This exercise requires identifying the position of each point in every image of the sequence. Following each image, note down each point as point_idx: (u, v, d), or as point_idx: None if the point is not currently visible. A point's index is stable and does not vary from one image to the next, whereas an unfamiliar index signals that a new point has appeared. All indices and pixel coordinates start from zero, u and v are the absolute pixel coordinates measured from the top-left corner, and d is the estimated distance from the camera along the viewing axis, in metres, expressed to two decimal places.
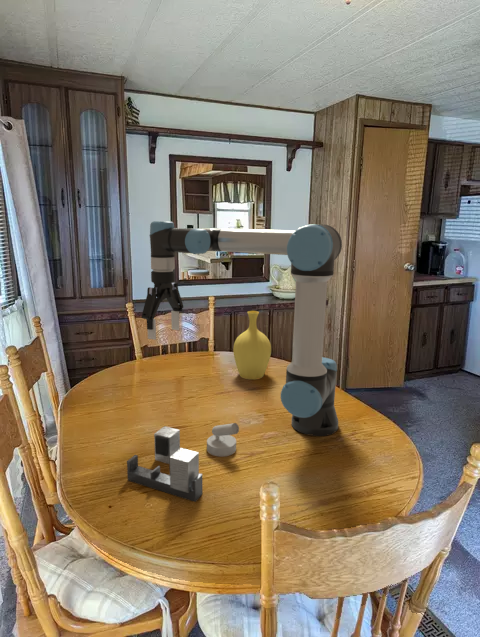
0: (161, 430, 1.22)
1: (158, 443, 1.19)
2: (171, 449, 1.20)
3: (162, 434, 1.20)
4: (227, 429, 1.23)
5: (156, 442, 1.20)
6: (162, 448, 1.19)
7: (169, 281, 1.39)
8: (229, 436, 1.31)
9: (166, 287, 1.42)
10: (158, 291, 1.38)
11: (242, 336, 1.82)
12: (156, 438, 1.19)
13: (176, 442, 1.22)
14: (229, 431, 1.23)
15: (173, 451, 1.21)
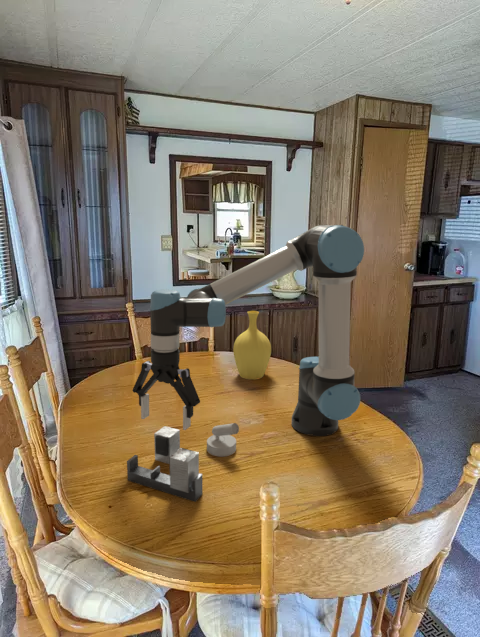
0: (161, 430, 1.22)
1: (158, 443, 1.19)
2: (171, 449, 1.20)
3: (162, 434, 1.20)
4: (227, 429, 1.23)
5: (156, 442, 1.20)
6: (162, 448, 1.19)
7: (153, 362, 1.14)
8: (229, 436, 1.31)
9: (163, 369, 1.16)
10: (151, 369, 1.18)
11: (242, 336, 1.82)
12: (156, 438, 1.19)
13: (176, 442, 1.22)
14: (229, 431, 1.23)
15: (173, 451, 1.21)
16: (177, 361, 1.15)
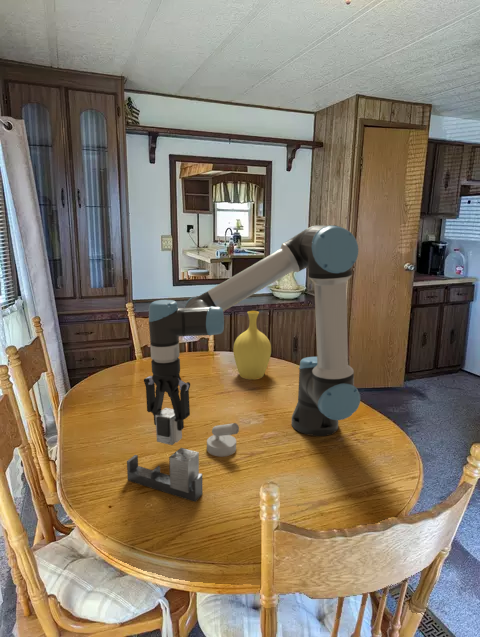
0: (162, 411, 1.21)
1: (159, 424, 1.18)
2: (172, 430, 1.18)
3: (163, 415, 1.19)
4: (227, 429, 1.23)
5: (157, 423, 1.18)
6: (163, 429, 1.18)
7: (154, 373, 1.15)
8: (229, 436, 1.31)
9: (164, 379, 1.17)
10: (152, 379, 1.19)
11: (242, 336, 1.82)
12: (157, 419, 1.18)
13: None
14: (229, 431, 1.23)
15: None
16: (178, 370, 1.16)
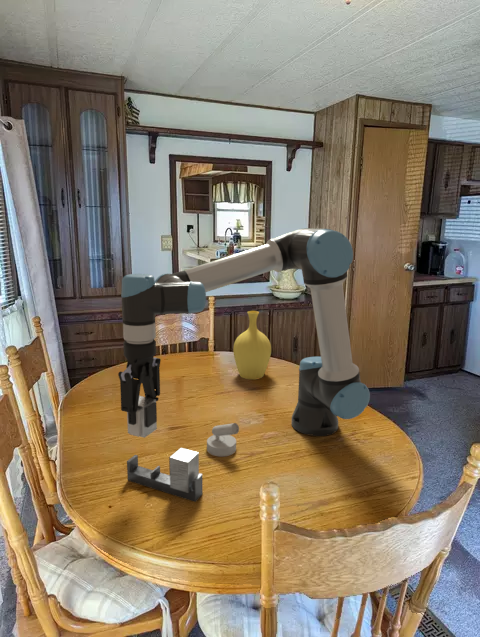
0: None
1: (150, 413, 1.06)
2: None
3: (146, 402, 1.06)
4: (227, 429, 1.23)
5: (148, 413, 1.05)
6: (153, 415, 1.07)
7: (148, 356, 1.02)
8: (229, 436, 1.31)
9: (144, 362, 1.05)
10: (133, 370, 1.01)
11: (242, 336, 1.82)
12: (148, 409, 1.05)
13: None
14: (229, 431, 1.23)
15: None
16: None
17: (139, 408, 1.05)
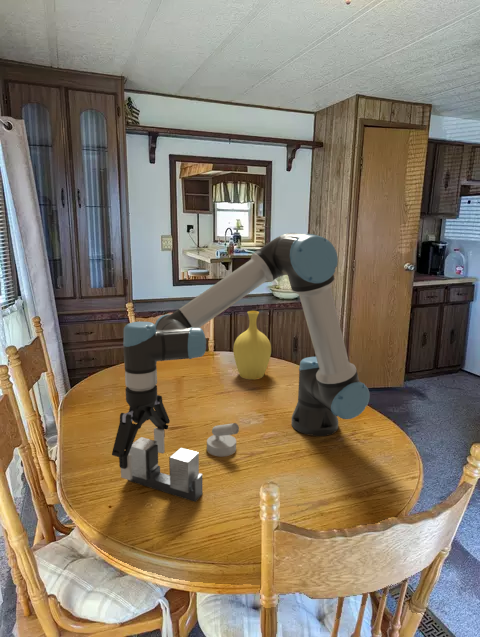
0: (139, 446, 1.08)
1: (151, 456, 1.08)
2: None
3: (148, 445, 1.09)
4: (227, 429, 1.23)
5: (150, 456, 1.08)
6: (155, 457, 1.10)
7: (149, 402, 1.04)
8: (229, 436, 1.31)
9: (146, 407, 1.07)
10: (135, 416, 1.04)
11: (242, 336, 1.82)
12: (150, 452, 1.07)
13: None
14: (229, 431, 1.23)
15: None
16: None
17: (141, 451, 1.07)
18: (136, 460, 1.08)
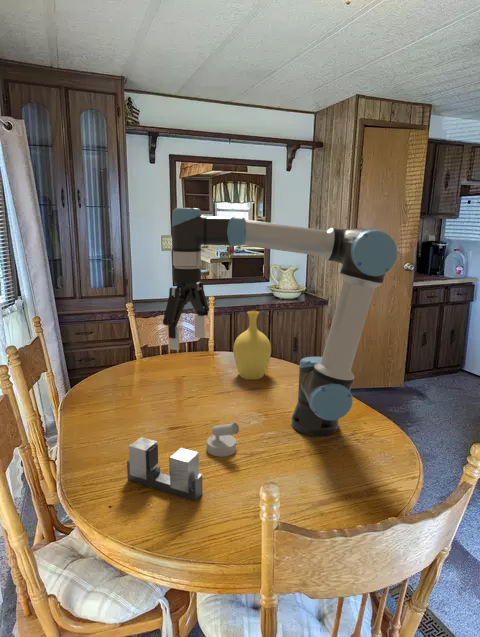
0: (139, 446, 1.08)
1: (151, 456, 1.08)
2: None
3: (148, 445, 1.09)
4: (227, 429, 1.23)
5: (150, 456, 1.08)
6: (155, 457, 1.10)
7: (195, 280, 1.16)
8: (229, 436, 1.31)
9: (191, 287, 1.19)
10: (182, 292, 1.15)
11: (242, 336, 1.82)
12: (150, 452, 1.07)
13: None
14: (229, 431, 1.23)
15: None
16: None
17: (141, 451, 1.07)
18: (136, 460, 1.08)
